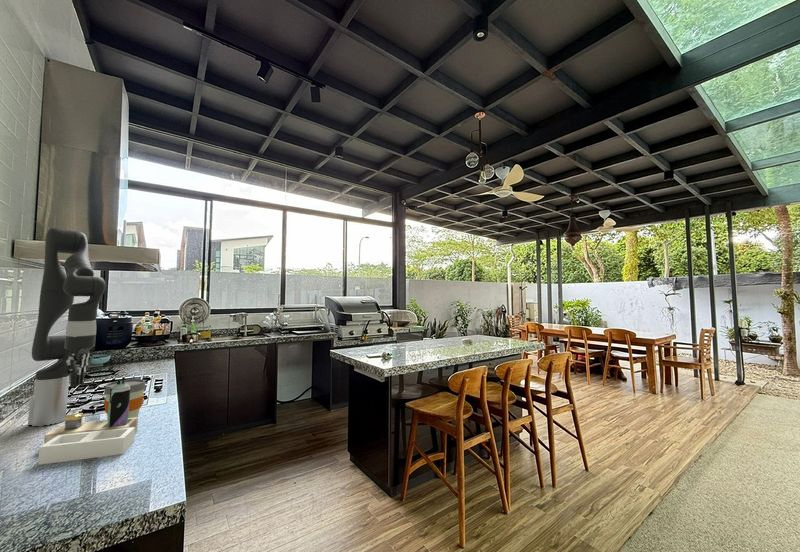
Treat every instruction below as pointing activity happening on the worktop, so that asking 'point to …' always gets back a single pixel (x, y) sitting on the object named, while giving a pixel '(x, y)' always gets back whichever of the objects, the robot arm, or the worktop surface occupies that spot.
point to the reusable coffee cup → (135, 396)
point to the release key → (73, 421)
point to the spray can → (119, 404)
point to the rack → (86, 445)
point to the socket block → (89, 428)
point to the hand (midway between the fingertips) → (76, 385)
